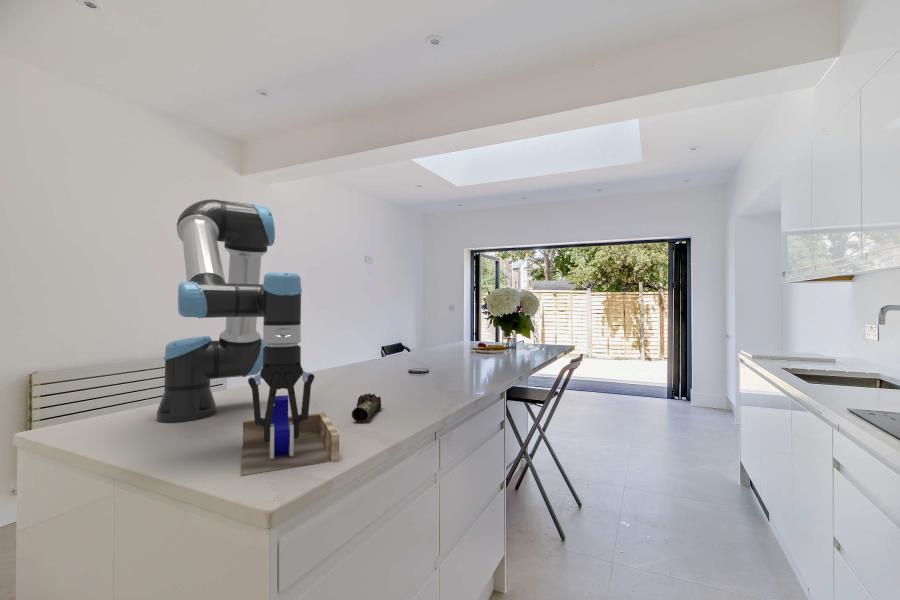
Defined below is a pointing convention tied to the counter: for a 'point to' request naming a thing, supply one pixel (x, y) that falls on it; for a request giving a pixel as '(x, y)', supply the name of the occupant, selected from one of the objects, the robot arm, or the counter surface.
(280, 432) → the cable clip
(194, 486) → the counter surface
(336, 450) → the corner board
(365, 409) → the metal pipe
